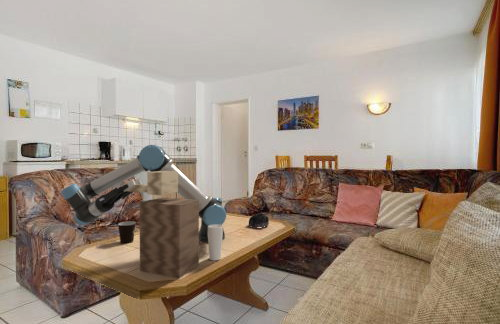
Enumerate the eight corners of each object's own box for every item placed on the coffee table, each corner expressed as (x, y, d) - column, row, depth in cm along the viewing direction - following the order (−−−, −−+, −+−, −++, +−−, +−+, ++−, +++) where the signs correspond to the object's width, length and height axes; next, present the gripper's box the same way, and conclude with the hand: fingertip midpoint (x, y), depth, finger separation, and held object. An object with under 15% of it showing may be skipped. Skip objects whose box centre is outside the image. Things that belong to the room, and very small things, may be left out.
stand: (139, 270, 112) (139, 202, 112) (162, 258, 125) (162, 197, 125) (179, 278, 106) (179, 205, 105) (198, 264, 119) (198, 199, 118)
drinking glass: (208, 256, 129) (208, 224, 129) (222, 256, 130) (222, 224, 129) (207, 261, 122) (207, 228, 122) (222, 261, 123) (222, 227, 123)
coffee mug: (129, 244, 145) (129, 225, 145) (114, 243, 147) (114, 224, 146) (141, 238, 156) (141, 220, 156) (128, 237, 158) (128, 219, 158)
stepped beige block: (113, 191, 118) (113, 170, 118) (132, 189, 129) (132, 169, 129) (161, 195, 110) (161, 172, 110) (177, 192, 120) (178, 171, 120)
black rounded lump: (247, 225, 191) (246, 211, 190) (266, 222, 193) (265, 209, 192) (250, 231, 178) (249, 216, 177) (270, 229, 180) (269, 214, 179)
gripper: (119, 209, 135) (153, 187, 128) (89, 215, 120) (126, 191, 113) (113, 195, 136) (146, 173, 129) (83, 200, 121) (119, 175, 114)
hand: (137, 181), depth 121 cm, fingers closed on stepped beige block, 3 cm apart
